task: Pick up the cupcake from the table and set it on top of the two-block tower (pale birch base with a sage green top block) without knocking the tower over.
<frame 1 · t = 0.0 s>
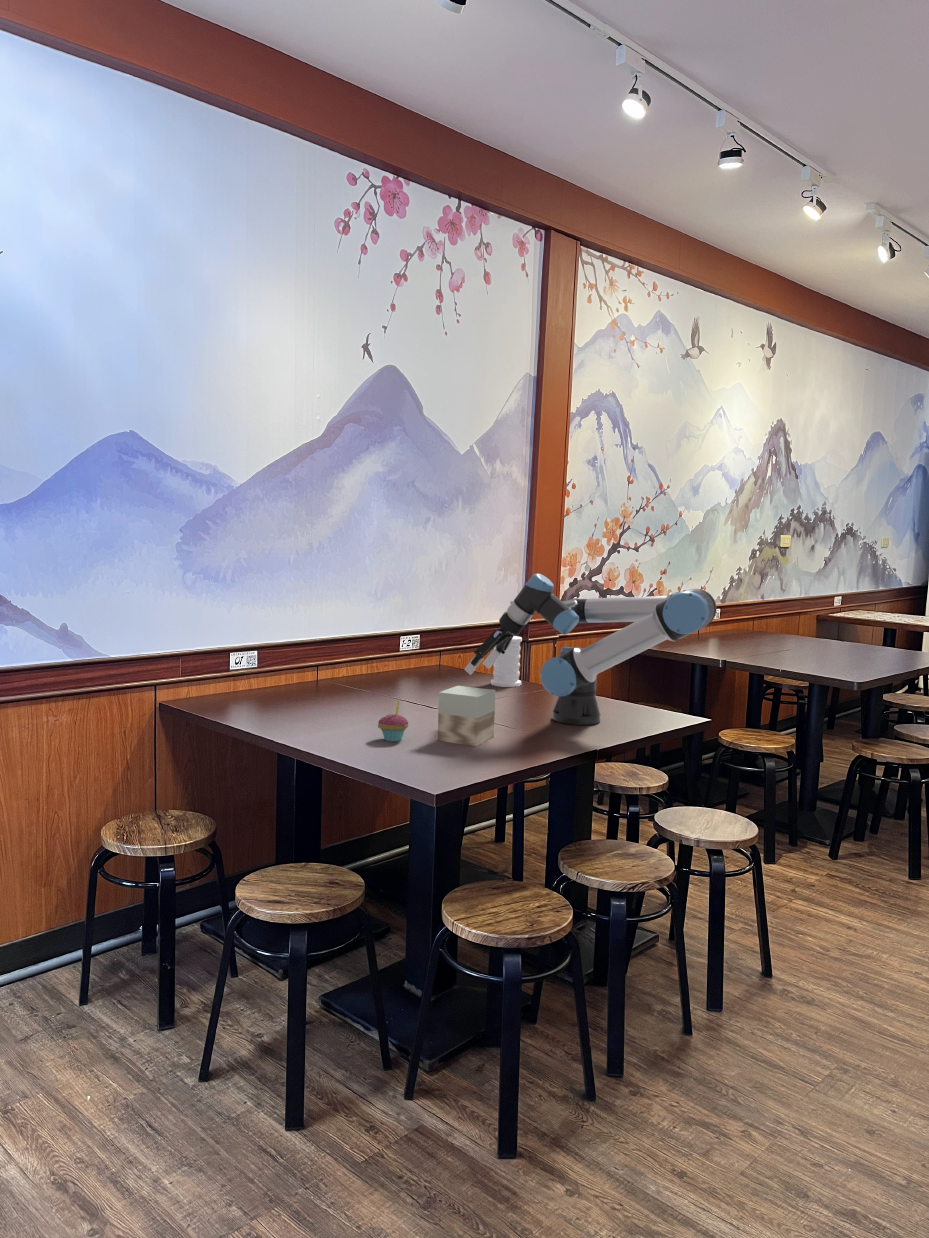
hand: (477, 669, 290), 15 cm above the table, tool tilted 35°, fingers open, 13 cm apart
cupcake: (393, 740, 259), on the table
tower base: (466, 739, 262), on the table, touching tower top
tower top: (466, 711, 261), point 8 cm above the table, touching tower base
decorative container: (506, 684, 350), on the table
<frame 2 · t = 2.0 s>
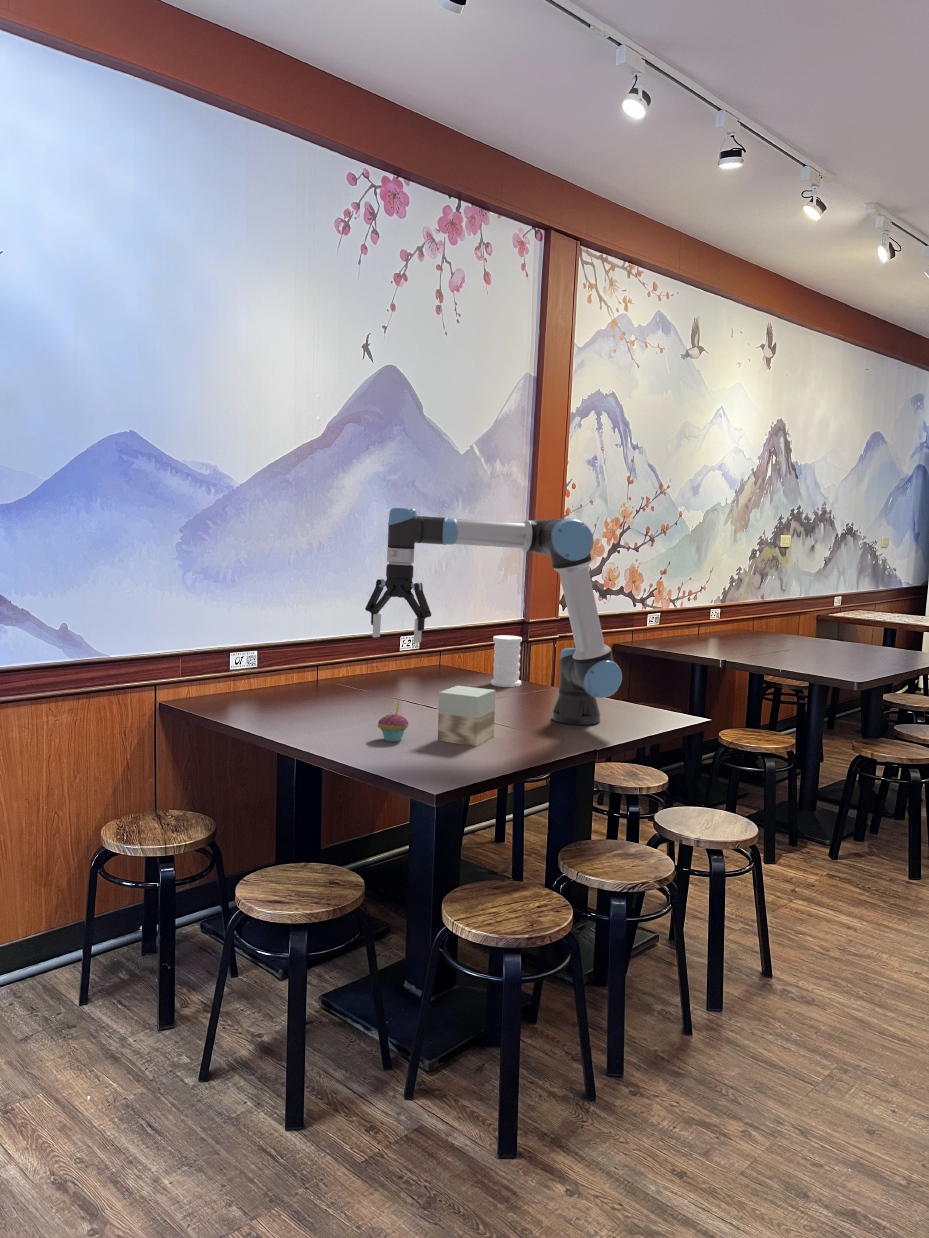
hand: (396, 639, 258), 28 cm above the table, tool pointing down, fingers open, 13 cm apart
nothing on the table moved.
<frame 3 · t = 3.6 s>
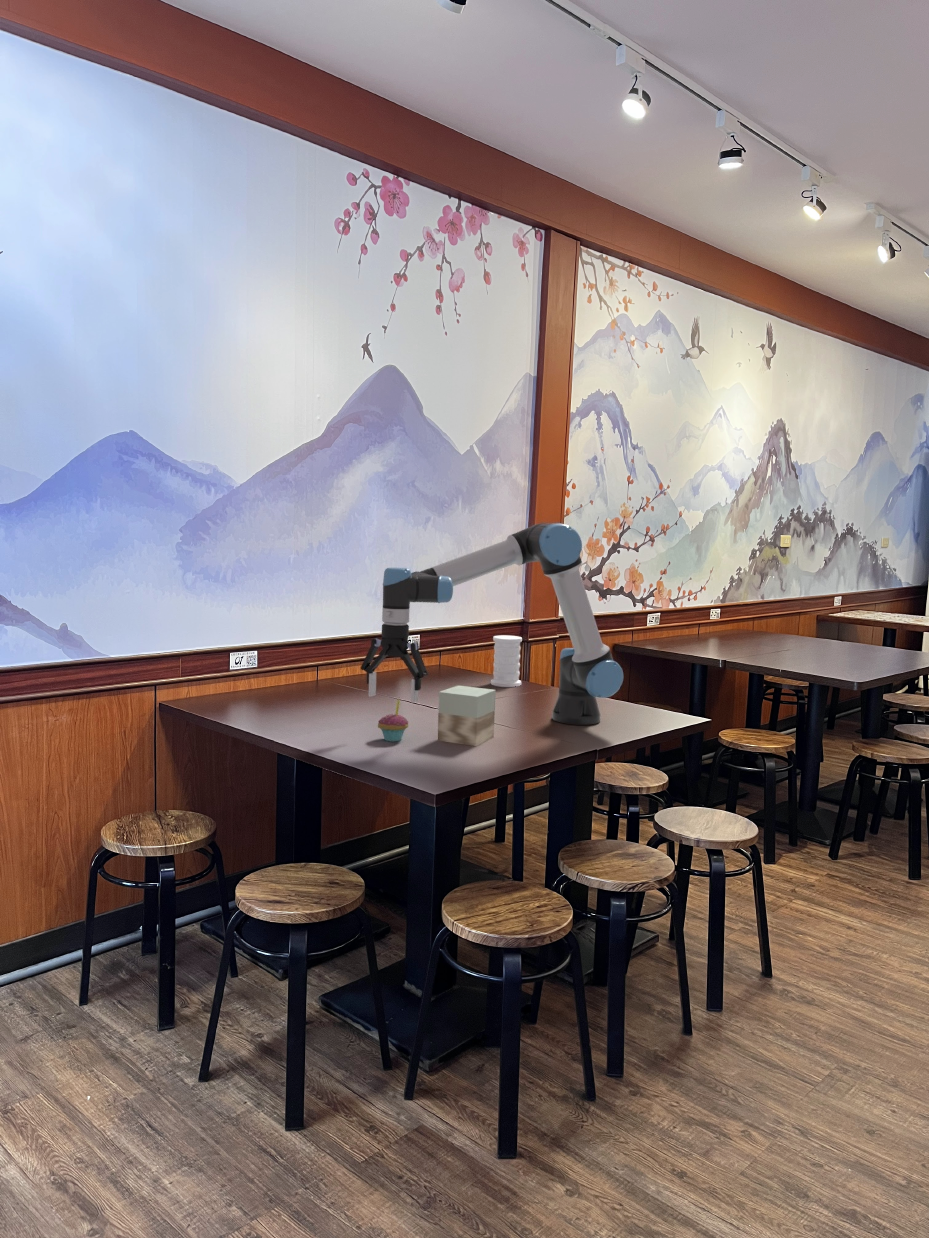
hand: (392, 698, 257), 12 cm above the table, tool pointing down, fingers open, 13 cm apart
nothing on the table moved.
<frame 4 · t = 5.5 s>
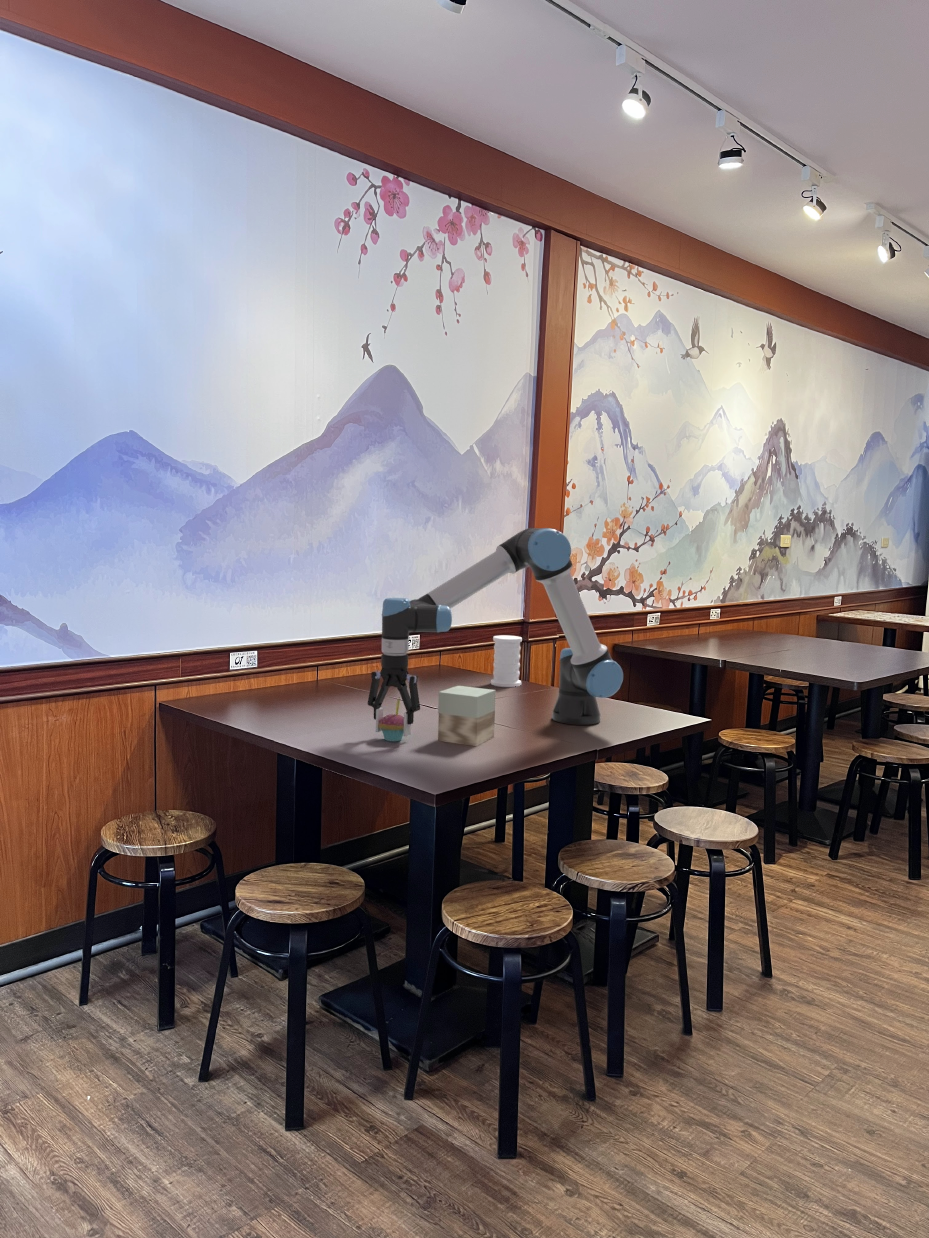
hand: (393, 733, 259), 2 cm above the table, tool pointing down, fingers closed on cupcake, 8 cm apart
cupcake: (393, 740, 259), on the table, touching gripper
everything else where it was.
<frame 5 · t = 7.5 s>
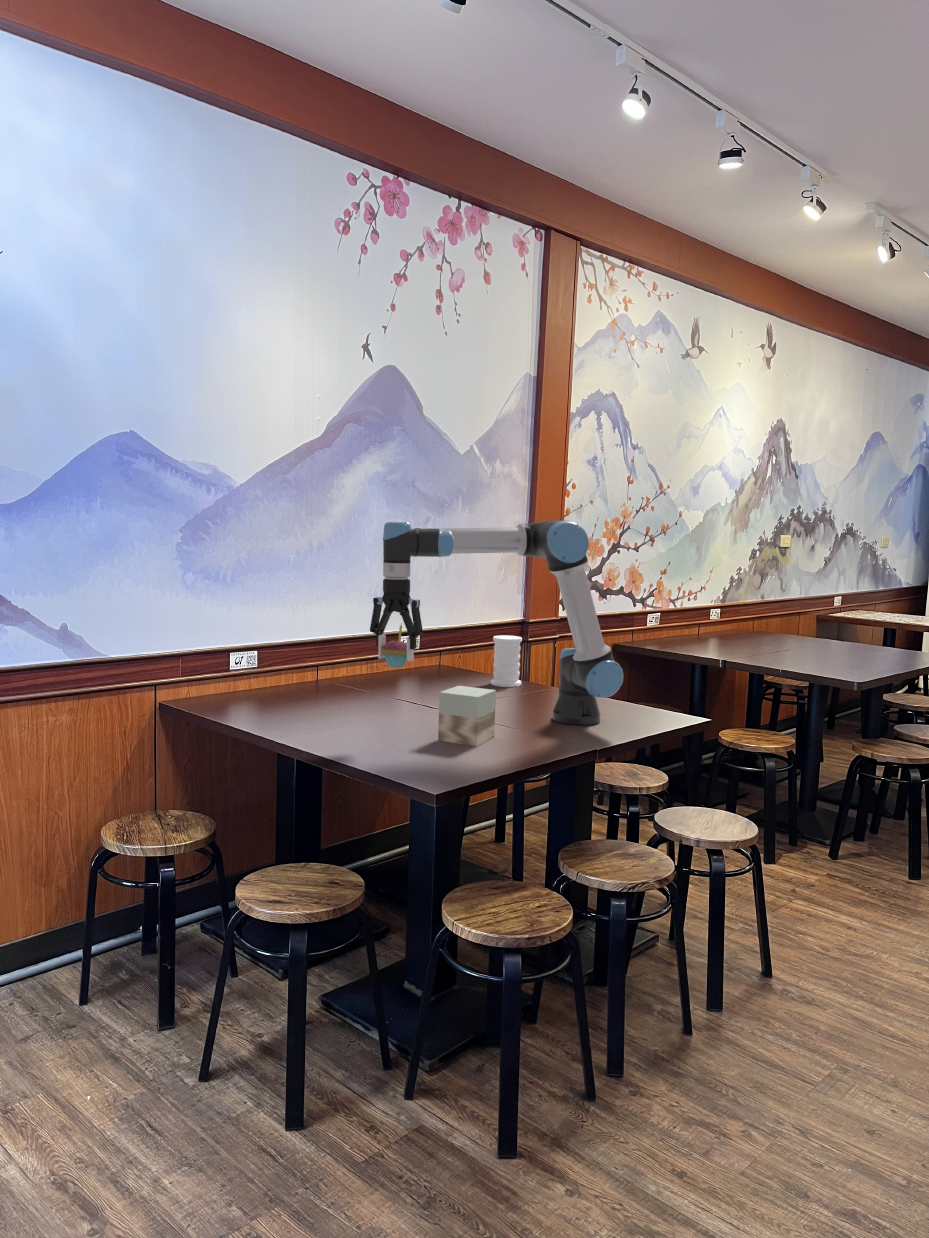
hand: (395, 659, 256), 23 cm above the table, tool pointing down, fingers closed on cupcake, 8 cm apart
cupcake: (396, 666, 257), point 21 cm above the table, touching gripper
everything else where it was.
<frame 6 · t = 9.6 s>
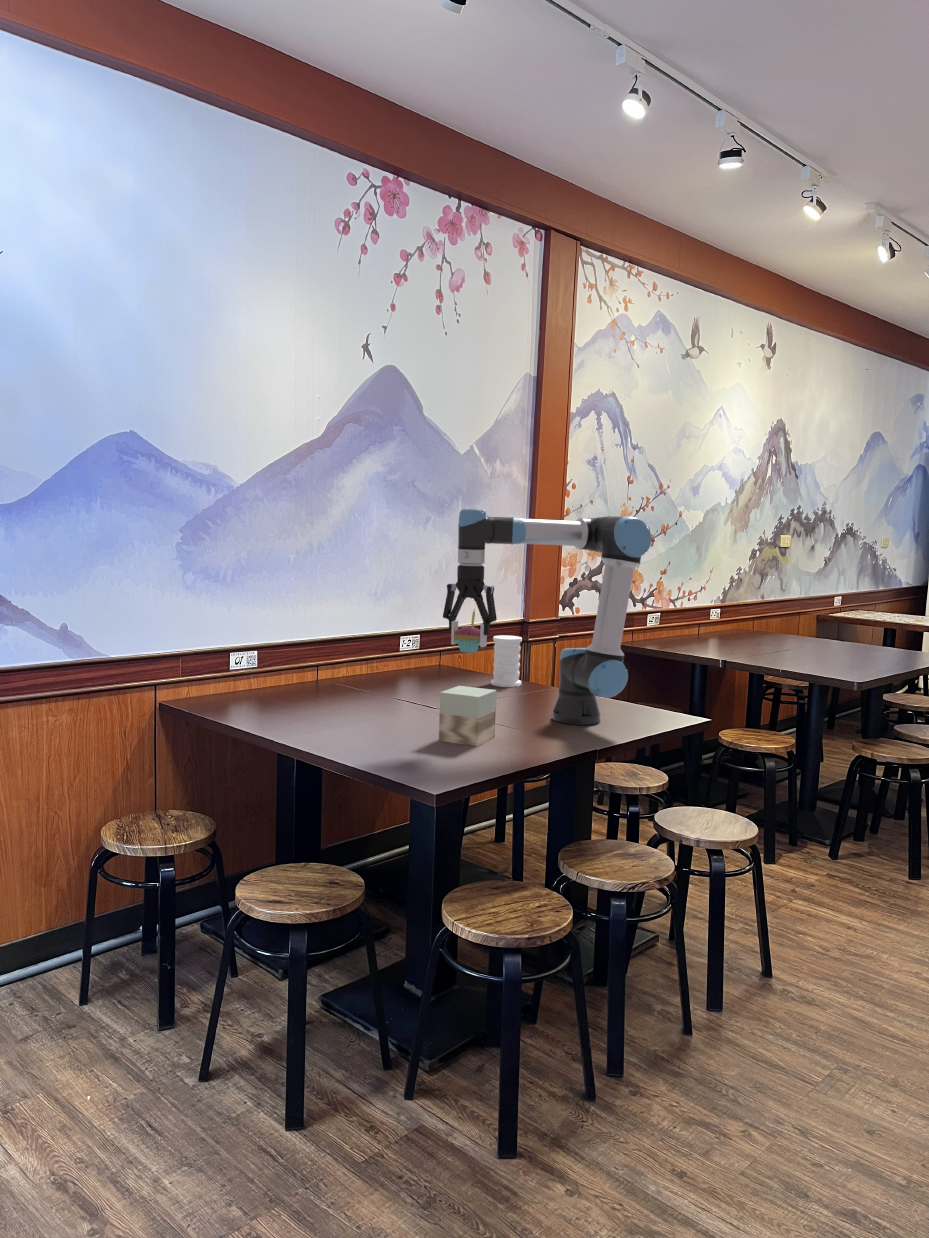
hand: (468, 645, 259), 27 cm above the table, tool pointing down, fingers closed on cupcake, 8 cm apart
cupcake: (468, 652, 259), point 25 cm above the table, touching gripper
everything else where it was.
when the fingers open (17 cm above the table, at t = 12.1 s): cupcake drops 2 cm, resting on tower top.
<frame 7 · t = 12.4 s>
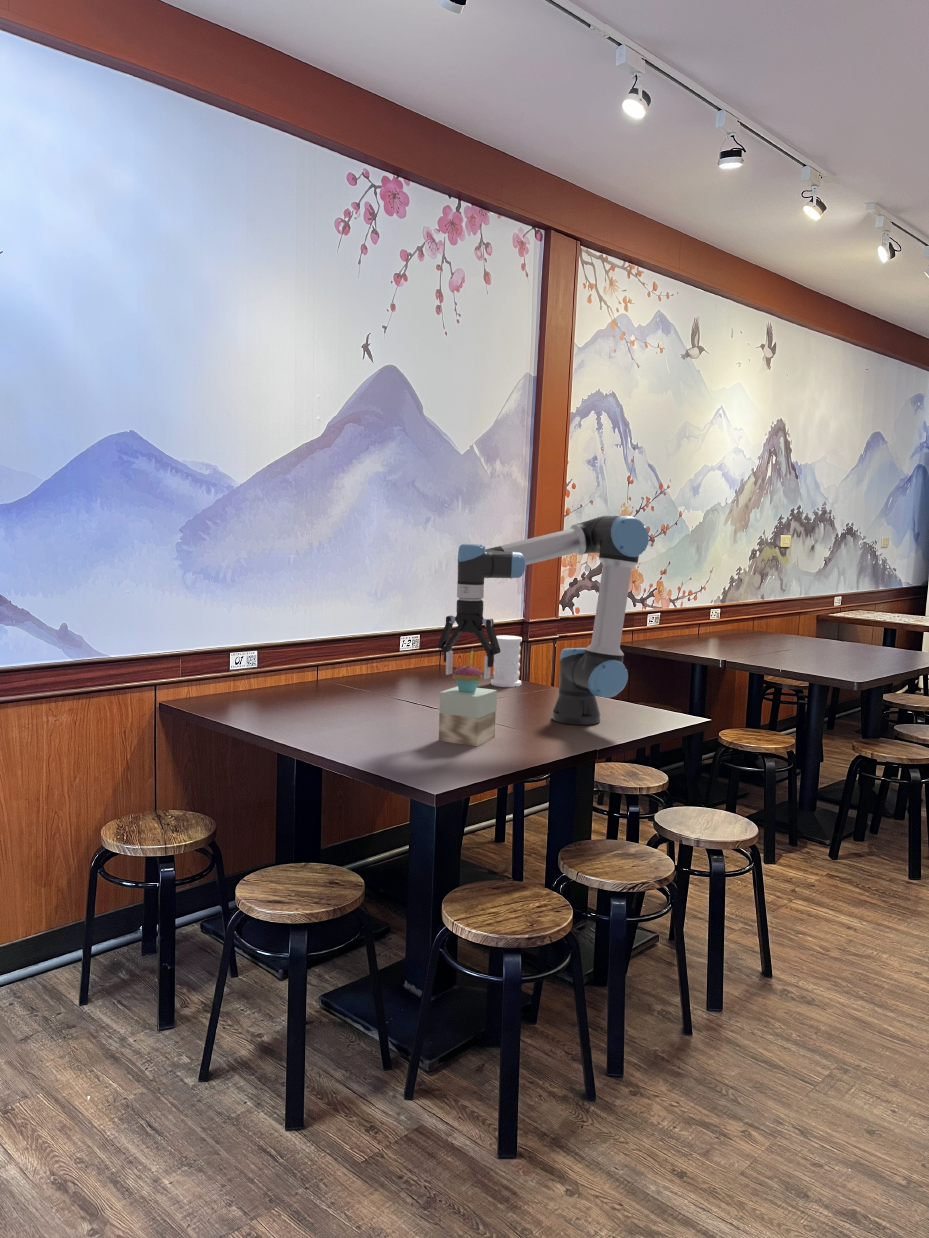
hand: (467, 676, 260), 18 cm above the table, tool pointing down, fingers open, 11 cm apart
cupcake: (467, 691, 261), point 14 cm above the table, touching tower top
tower top: (468, 711, 261), point 8 cm above the table, touching cupcake, tower base
everything else where it was.
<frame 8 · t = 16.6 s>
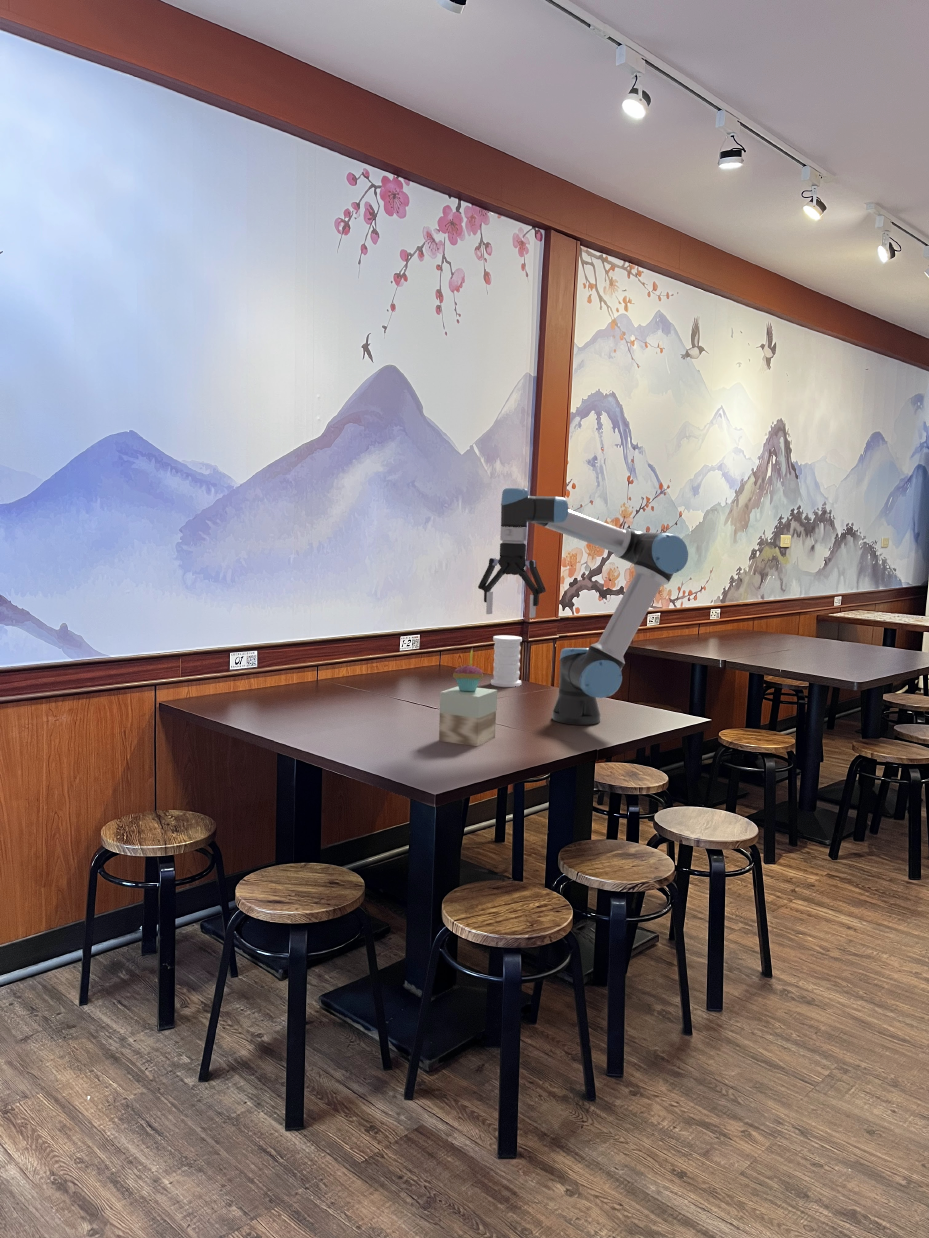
hand: (510, 615, 267), 35 cm above the table, tool pointing down, fingers open, 13 cm apart
at the end: cupcake inside the target area on the tower top (0.4 cm from its centre), point 6.0 cm above the tower top's base; tower top 0.2 cm from the tower base (horizontally); tower top point 7.8 cm above the table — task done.
